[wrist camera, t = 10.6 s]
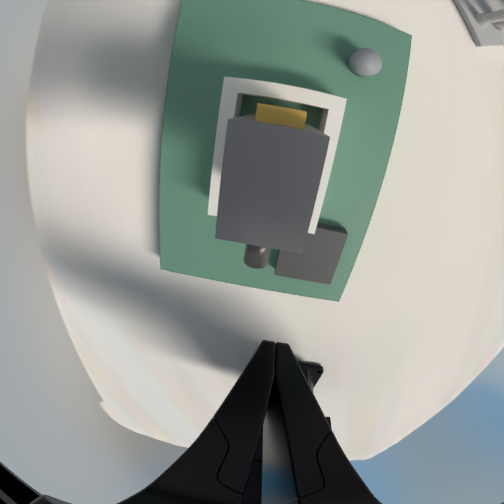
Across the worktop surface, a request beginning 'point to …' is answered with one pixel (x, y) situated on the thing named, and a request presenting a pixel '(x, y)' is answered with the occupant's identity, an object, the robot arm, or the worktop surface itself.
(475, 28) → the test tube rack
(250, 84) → the board
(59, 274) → the worktop surface
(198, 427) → the worktop surface
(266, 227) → the plug
